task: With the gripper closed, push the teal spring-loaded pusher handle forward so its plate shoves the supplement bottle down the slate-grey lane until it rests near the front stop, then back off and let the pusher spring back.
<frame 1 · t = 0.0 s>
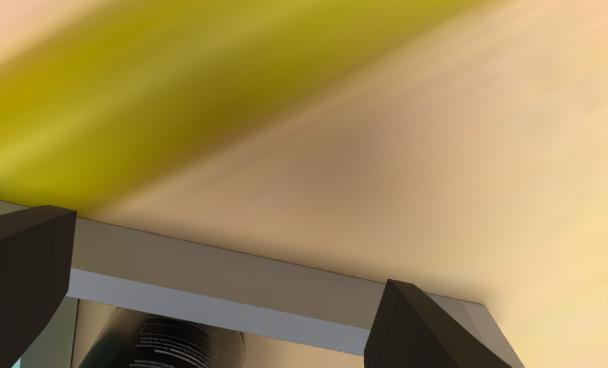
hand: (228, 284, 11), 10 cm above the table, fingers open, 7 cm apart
lane: (217, 356, 24), on the table
supplement bottle: (177, 345, 24), resting in lane
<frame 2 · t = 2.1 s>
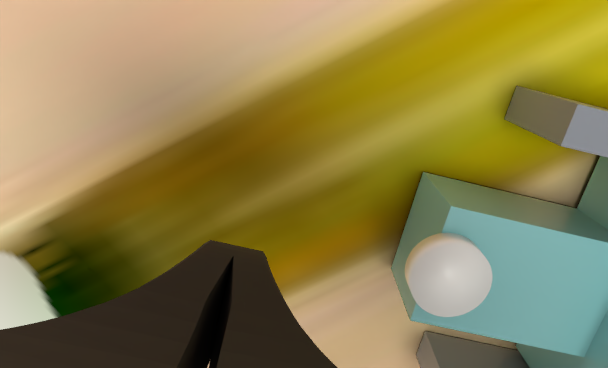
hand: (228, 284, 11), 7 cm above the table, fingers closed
pusher: (519, 272, 16), point 3 cm above the table, slide at 0.0 cm
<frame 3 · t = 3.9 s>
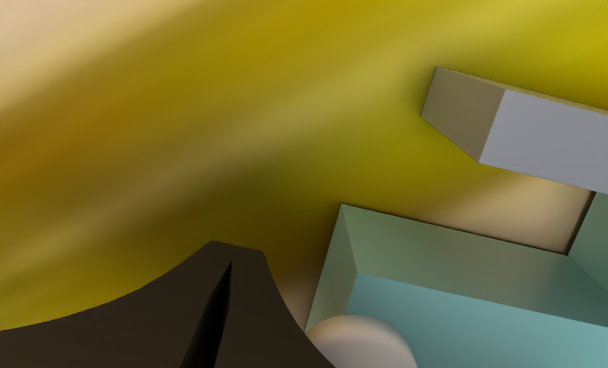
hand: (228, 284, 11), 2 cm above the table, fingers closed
pusher: (477, 363, 11), point 3 cm above the table, slide at 1.0 cm, touching gripper
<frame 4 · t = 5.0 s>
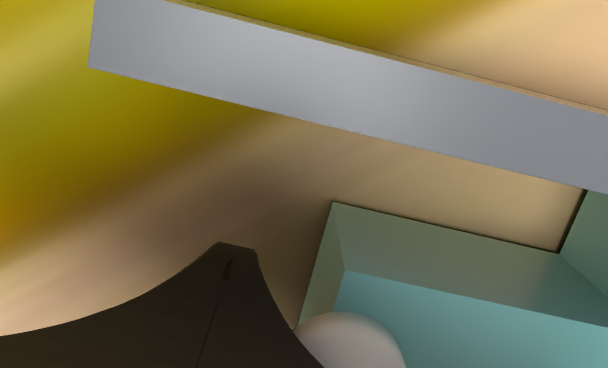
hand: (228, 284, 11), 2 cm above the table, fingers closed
lane: (570, 325, 14), on the table
pusher: (467, 361, 11), point 3 cm above the table, slide at 7.0 cm, touching gripper, supplement bottle
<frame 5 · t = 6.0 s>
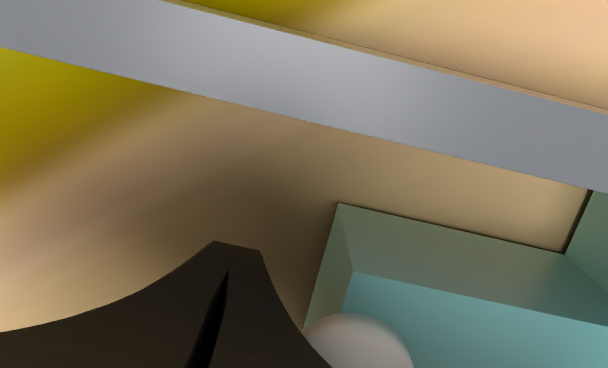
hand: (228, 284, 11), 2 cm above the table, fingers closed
lane: (491, 307, 13), on the table
pusher: (473, 362, 11), point 3 cm above the table, slide at 9.4 cm, touching gripper, supplement bottle
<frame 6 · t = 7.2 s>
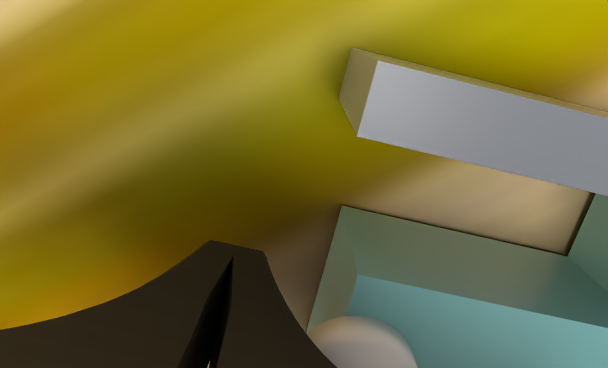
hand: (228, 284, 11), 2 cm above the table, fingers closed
pusher: (477, 364, 11), point 3 cm above the table, slide at 3.0 cm, touching gripper
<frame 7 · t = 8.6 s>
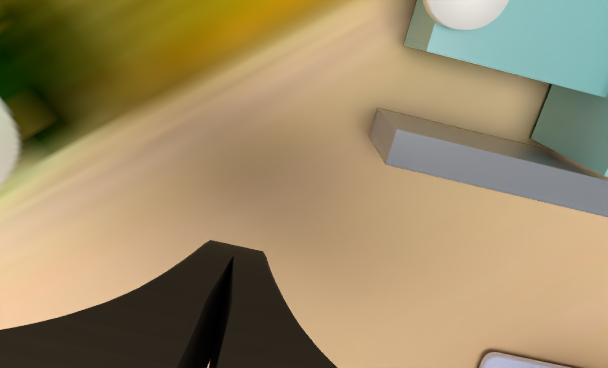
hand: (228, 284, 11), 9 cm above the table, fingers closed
pusher: (538, 12, 16), point 3 cm above the table, slide at 2.5 cm
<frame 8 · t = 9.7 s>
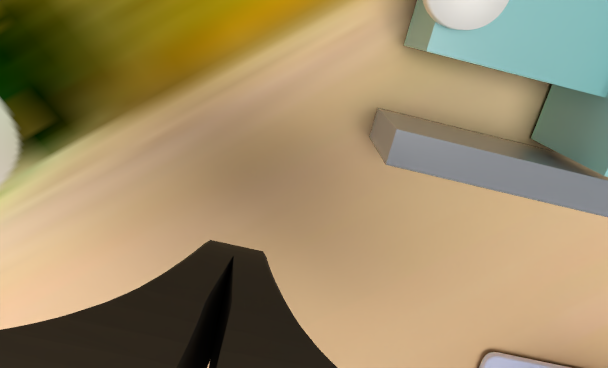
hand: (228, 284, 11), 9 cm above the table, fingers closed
pusher: (538, 12, 16), point 3 cm above the table, slide at 2.5 cm
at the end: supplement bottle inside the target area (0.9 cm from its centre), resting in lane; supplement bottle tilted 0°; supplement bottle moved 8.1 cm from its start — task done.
